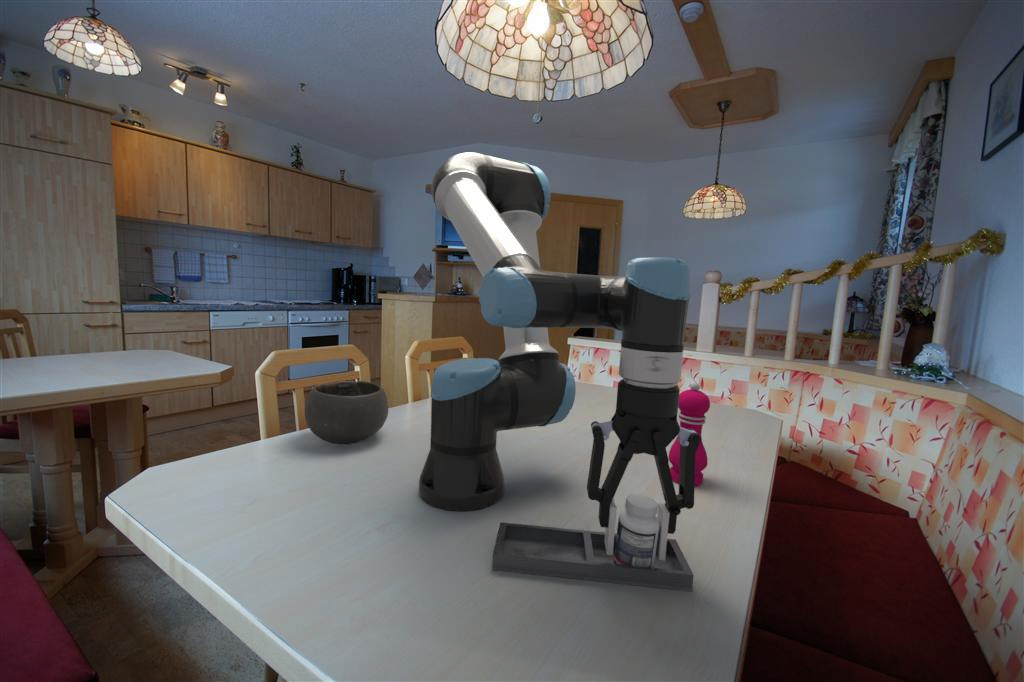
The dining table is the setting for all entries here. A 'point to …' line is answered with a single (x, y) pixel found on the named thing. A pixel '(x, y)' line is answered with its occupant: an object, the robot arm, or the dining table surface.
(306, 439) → the dining table surface
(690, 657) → the dining table surface
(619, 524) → the pill bottle
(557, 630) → the dining table surface
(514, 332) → the robot arm
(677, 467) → the pepper mill
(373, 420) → the bowl
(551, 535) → the tray
